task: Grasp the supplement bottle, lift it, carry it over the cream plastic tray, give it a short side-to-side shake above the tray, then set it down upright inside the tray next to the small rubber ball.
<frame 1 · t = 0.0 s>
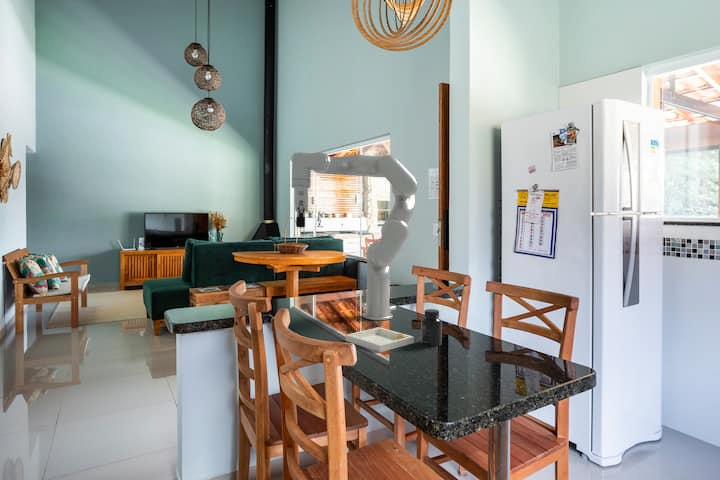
hand: (300, 226, 182), 37 cm above the table, tool pointing down, fingers open, 9 cm apart
tray: (379, 344, 150), on the table
ball: (401, 342, 150), point 1 cm above the table, touching tray
supplement bottle: (430, 346, 150), on the table
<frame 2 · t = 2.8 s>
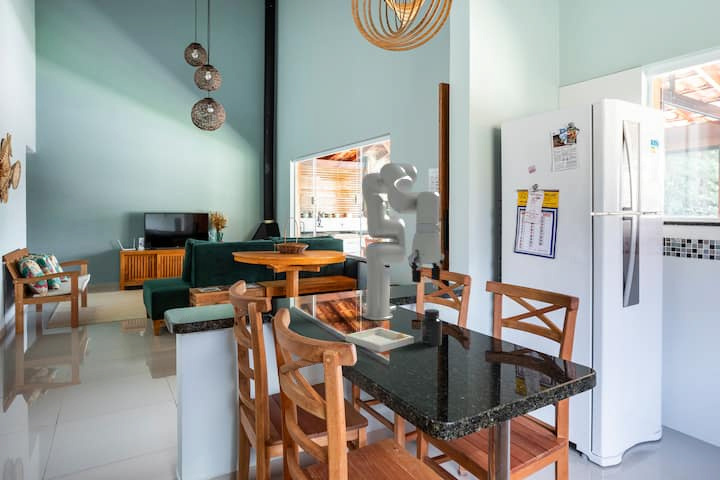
hand: (426, 280, 150), 22 cm above the table, tool pointing down, fingers open, 9 cm apart
nothing on the table moved.
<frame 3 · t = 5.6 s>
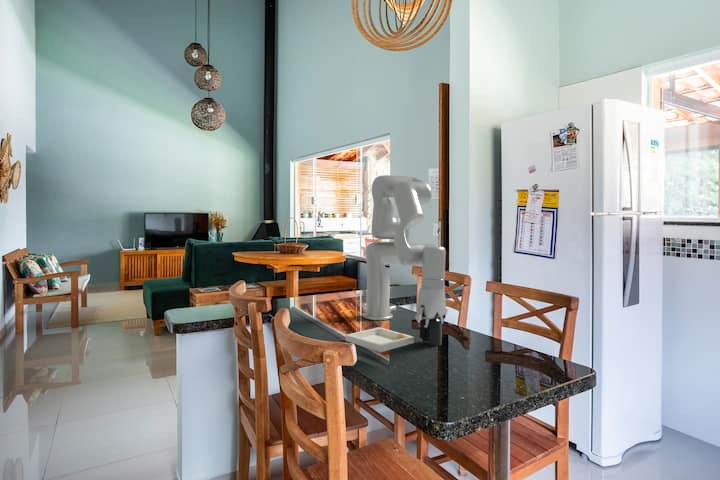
hand: (431, 336, 150), 3 cm above the table, tool pointing down, fingers closed on supplement bottle, 6 cm apart
supplement bottle: (430, 346, 150), on the table, touching gripper
everything else where it was.
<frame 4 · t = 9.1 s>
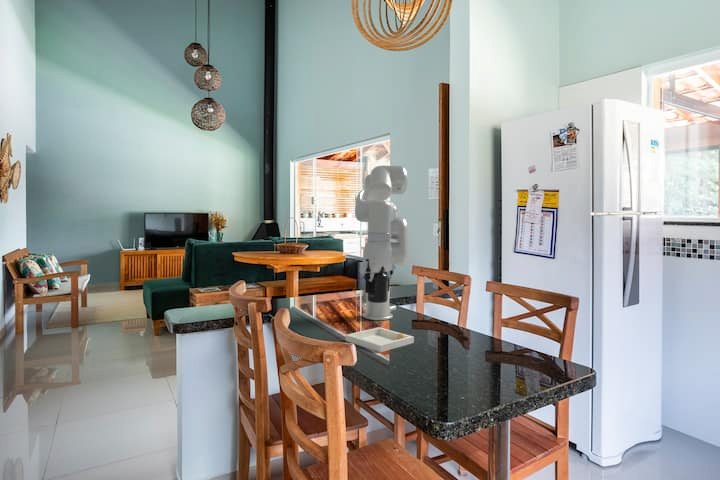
hand: (377, 291, 151), 18 cm above the table, tool pointing down, fingers closed on supplement bottle, 6 cm apart
supplement bottle: (377, 301, 151), point 14 cm above the table, touching gripper
everything else where it was.
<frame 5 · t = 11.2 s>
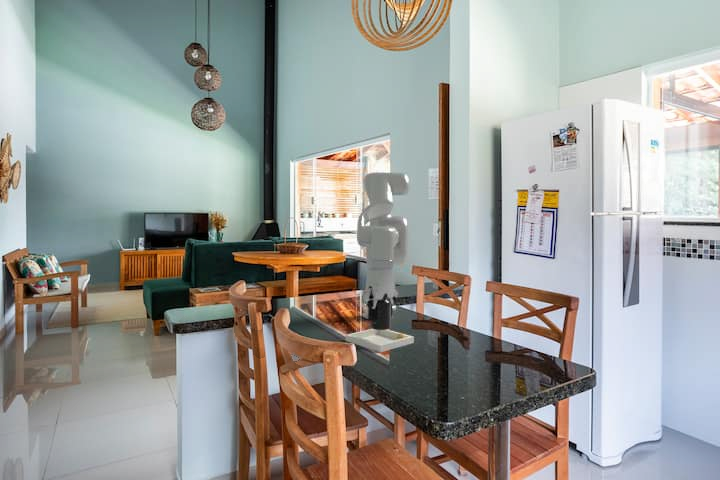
hand: (380, 318, 150), 9 cm above the table, tool pointing down, fingers closed on supplement bottle, 6 cm apart
supplement bottle: (380, 328, 150), point 6 cm above the table, touching gripper
everything else where it was.
when the fingers open (6 cm above the table, at t = 12.8 s): supplement bottle drops 1 cm, resting on tray.
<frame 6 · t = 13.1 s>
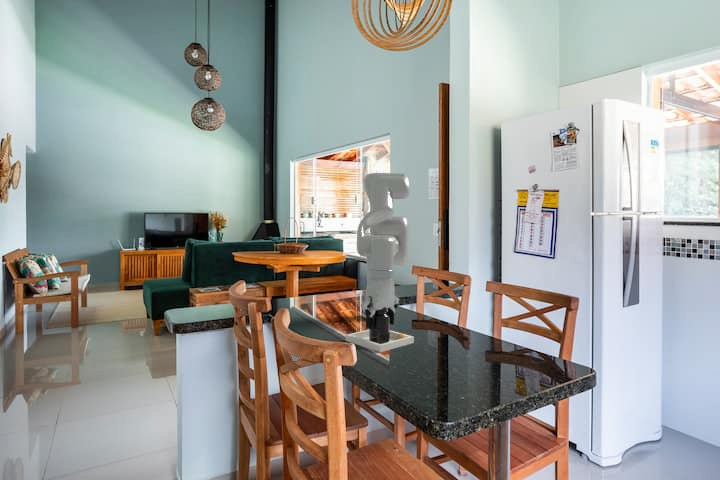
hand: (380, 326, 150), 6 cm above the table, tool pointing down, fingers open, 9 cm apart
supplement bottle: (379, 342, 150), point 1 cm above the table, touching tray
everything else where it was.
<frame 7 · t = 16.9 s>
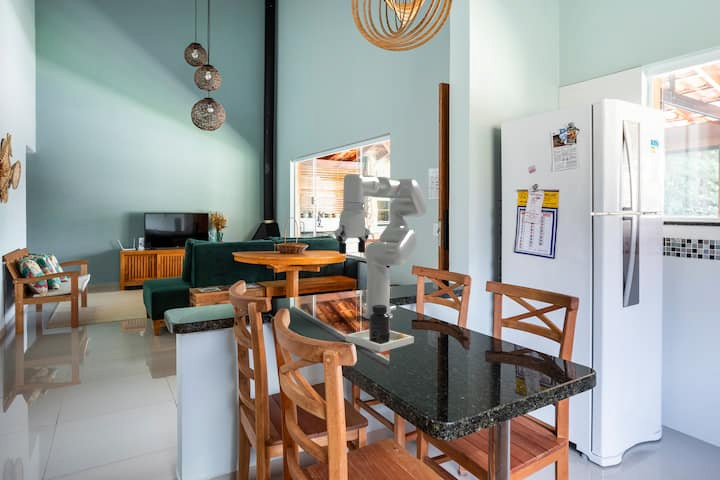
hand: (352, 253, 171), 28 cm above the table, tool pointing down, fingers open, 9 cm apart
nothing on the table moved.
at the end: supplement bottle inside the target area on the tray (0.2 cm from its centre), point 0.8 cm above the tray's base; supplement bottle tilted 0°; the gripper is holding nothing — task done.
